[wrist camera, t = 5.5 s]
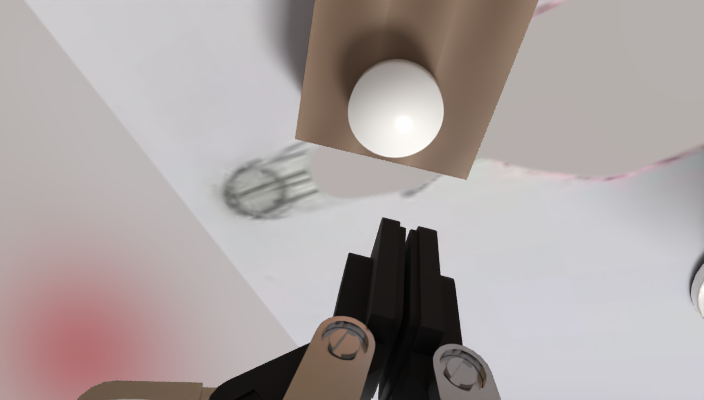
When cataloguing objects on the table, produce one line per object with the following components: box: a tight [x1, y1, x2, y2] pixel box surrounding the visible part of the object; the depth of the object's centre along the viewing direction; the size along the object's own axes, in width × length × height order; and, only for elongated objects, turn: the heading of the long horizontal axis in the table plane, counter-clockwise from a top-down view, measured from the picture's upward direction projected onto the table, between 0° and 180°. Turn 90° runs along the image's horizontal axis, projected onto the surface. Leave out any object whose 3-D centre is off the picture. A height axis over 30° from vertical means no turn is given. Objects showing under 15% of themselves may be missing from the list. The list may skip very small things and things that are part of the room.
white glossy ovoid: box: [348, 59, 444, 158], centre depth 27 cm, size 6×6×8 cm
